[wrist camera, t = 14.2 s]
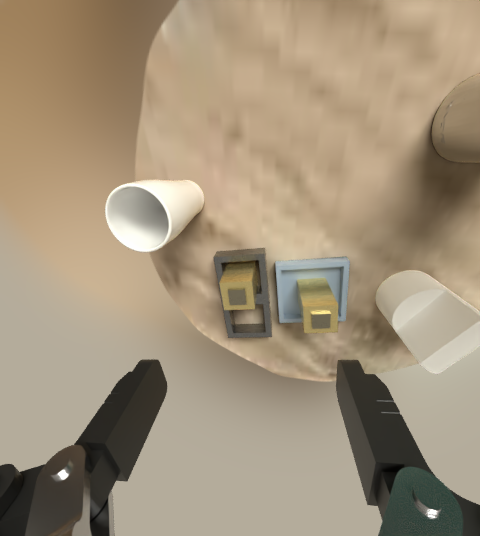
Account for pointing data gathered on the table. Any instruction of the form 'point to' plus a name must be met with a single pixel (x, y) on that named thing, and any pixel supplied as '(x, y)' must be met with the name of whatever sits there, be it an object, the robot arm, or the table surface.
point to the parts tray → (308, 269)
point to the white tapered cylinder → (152, 212)
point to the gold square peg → (317, 306)
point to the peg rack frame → (261, 296)
